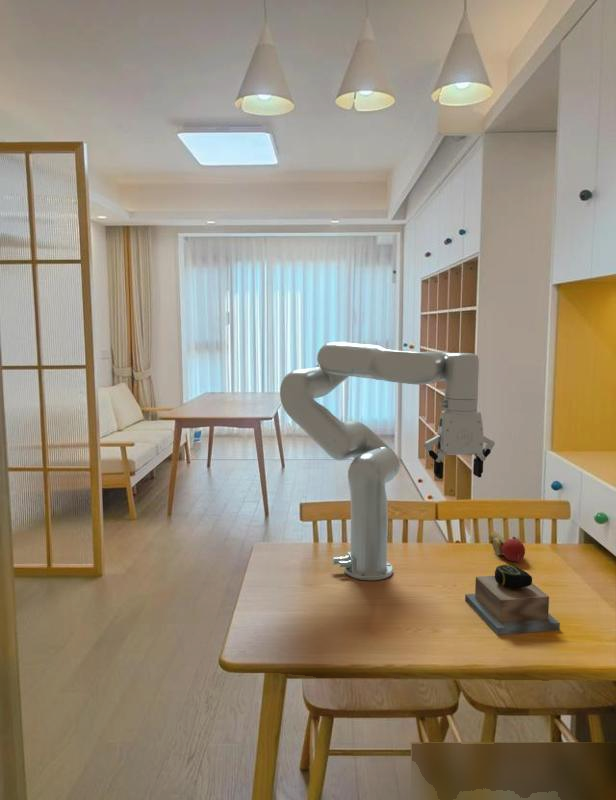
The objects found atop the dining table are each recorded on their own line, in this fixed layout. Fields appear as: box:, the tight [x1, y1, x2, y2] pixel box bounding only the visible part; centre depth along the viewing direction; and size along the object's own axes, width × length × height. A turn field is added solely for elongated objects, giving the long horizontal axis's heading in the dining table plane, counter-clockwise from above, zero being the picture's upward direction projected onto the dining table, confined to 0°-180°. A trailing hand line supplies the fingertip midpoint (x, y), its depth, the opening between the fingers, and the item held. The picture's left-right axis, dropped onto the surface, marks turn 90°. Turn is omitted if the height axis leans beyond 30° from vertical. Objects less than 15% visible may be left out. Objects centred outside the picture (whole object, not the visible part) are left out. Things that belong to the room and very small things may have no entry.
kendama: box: [488, 531, 526, 562], centre depth 167 cm, size 8×6×18 cm
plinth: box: [464, 575, 561, 636], centre depth 130 cm, size 14×16×6 cm
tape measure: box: [494, 564, 533, 589], centre depth 130 cm, size 7×7×4 cm
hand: (458, 476), depth 140 cm, fingers open, 9 cm apart
